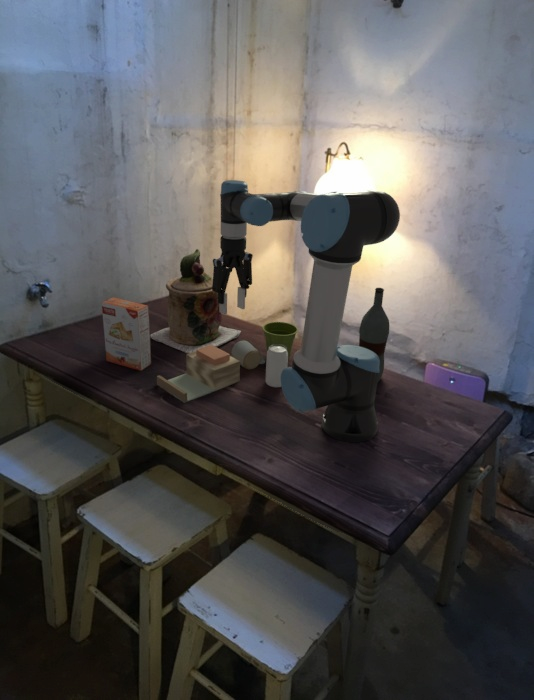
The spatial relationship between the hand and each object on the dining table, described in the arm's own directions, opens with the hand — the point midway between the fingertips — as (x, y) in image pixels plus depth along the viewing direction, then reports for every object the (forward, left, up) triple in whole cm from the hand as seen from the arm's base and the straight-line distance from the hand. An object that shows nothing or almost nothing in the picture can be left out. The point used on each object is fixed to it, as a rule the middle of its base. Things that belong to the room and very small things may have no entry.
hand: (232, 310), depth 175 cm
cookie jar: (+28, -7, -21) cm, 36 cm away
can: (-15, -6, -21) cm, 27 cm away
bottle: (-31, -32, -21) cm, 49 cm away
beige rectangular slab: (0, +7, -21) cm, 22 cm away
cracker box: (+25, +22, -21) cm, 40 cm away
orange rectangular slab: (0, +7, -14) cm, 16 cm away
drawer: (0, +18, -21) cm, 28 cm away
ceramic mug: (0, -8, -21) cm, 23 cm away
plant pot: (-3, -19, -21) cm, 28 cm away
